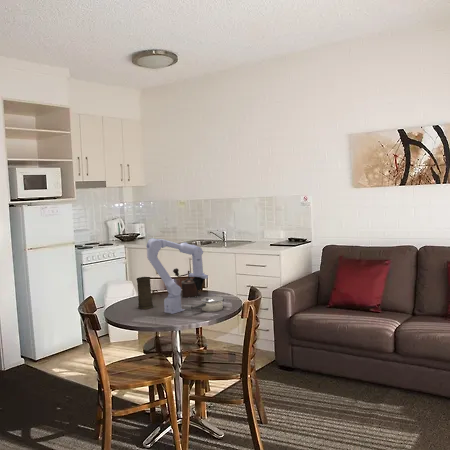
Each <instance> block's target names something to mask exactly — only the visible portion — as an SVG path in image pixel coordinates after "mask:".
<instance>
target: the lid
mask: <svg viewBox="0 0 450 450" xmlns="http://www.w3.org/2000/svg"><path fill="white" fill-rule="evenodd" d="M223 299H224V297H223V296H220V295H219V296H218V295H217V296H216V295H215V296H206V297H203V298H201V299H200V300H201V301H200V302H201V303H202V302H206V303H212V302H219V301H222V300H223Z"/></svg>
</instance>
